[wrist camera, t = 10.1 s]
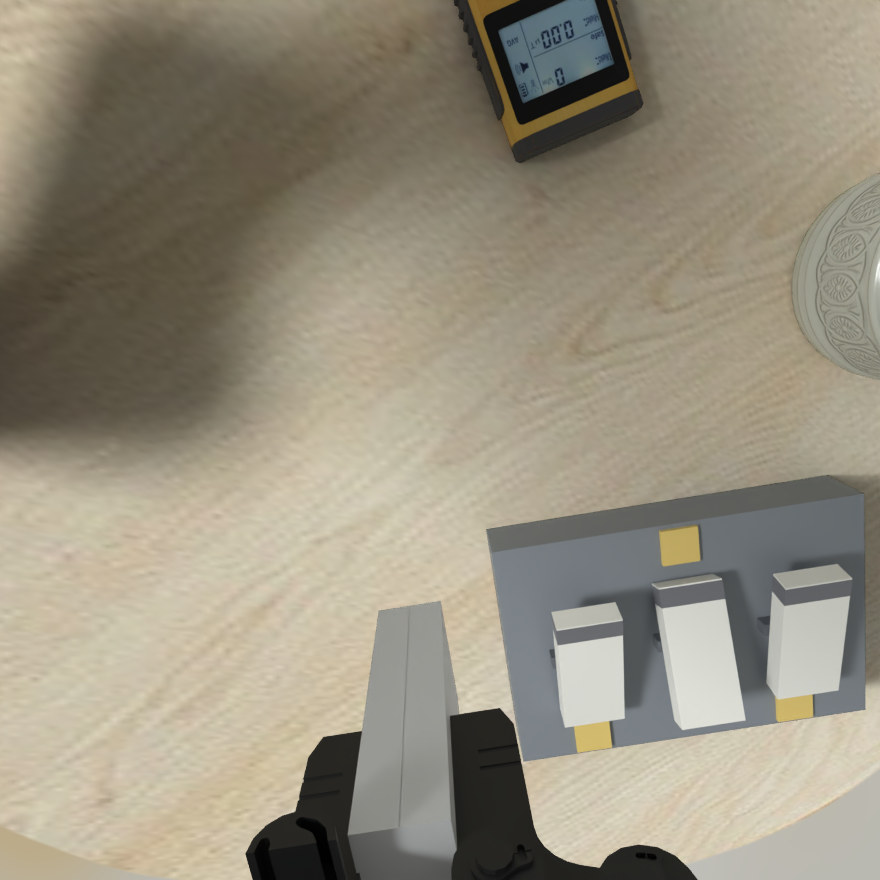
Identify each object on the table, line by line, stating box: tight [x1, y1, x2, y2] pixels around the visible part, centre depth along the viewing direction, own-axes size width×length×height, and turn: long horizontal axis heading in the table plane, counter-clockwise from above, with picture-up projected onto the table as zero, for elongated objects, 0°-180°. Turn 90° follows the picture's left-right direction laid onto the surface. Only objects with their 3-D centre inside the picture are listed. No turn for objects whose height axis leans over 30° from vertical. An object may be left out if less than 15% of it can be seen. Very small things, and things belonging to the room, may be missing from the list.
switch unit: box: [486, 475, 865, 761], centre depth 46 cm, size 24×16×5 cm, turn 99°
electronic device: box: [454, 0, 643, 163], centre depth 38 cm, size 8×16×3 cm, turn 22°
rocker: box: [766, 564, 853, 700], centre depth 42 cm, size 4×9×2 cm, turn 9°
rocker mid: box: [652, 574, 745, 730], centre depth 43 cm, size 4×9×2 cm, turn 9°
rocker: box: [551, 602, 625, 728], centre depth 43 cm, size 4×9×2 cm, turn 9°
